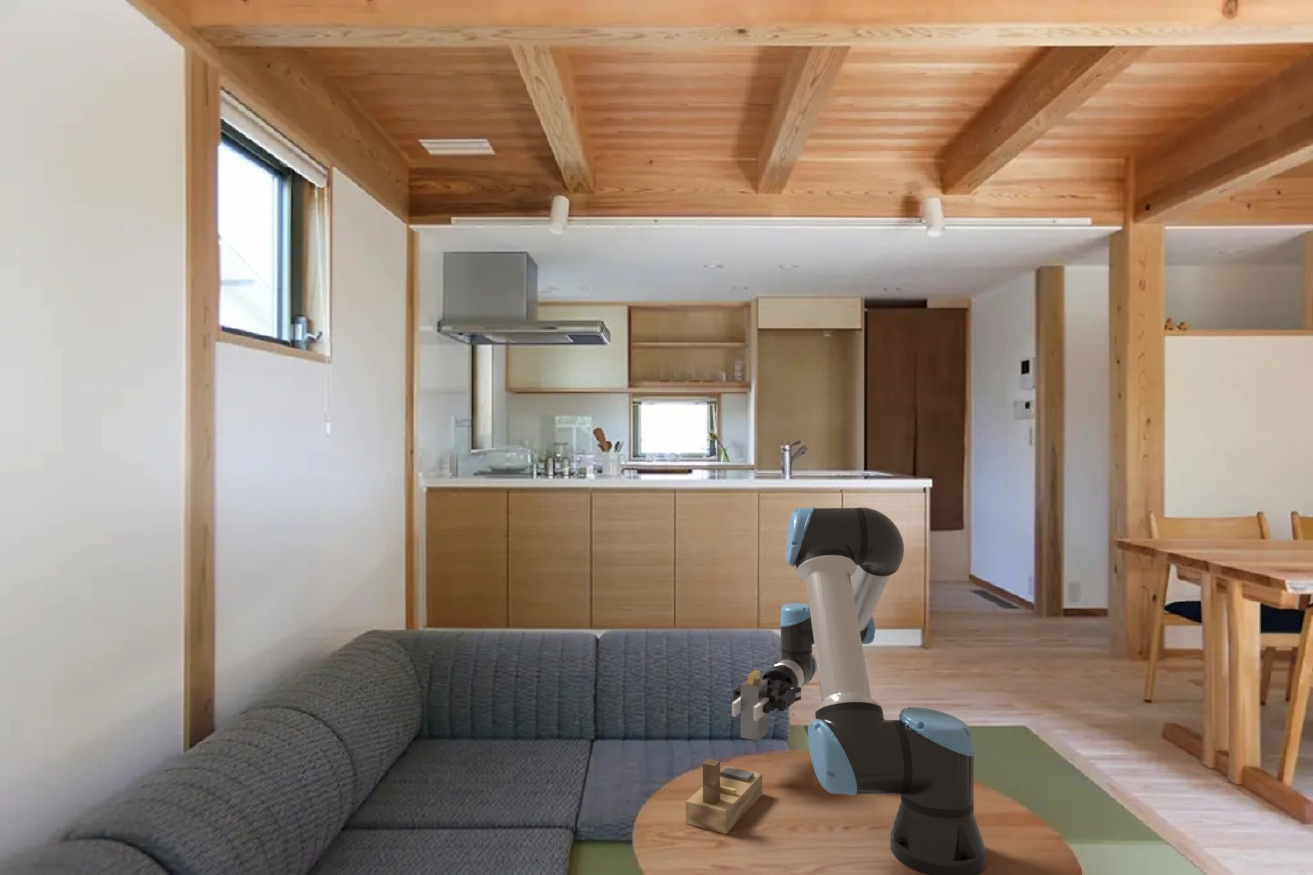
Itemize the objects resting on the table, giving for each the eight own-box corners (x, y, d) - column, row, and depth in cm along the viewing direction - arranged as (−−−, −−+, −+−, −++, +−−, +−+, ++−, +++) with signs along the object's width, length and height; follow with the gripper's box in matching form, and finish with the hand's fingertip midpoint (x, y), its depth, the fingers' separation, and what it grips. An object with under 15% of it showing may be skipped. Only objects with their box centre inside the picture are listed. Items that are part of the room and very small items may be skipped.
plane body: (762, 794, 150) (762, 738, 151) (726, 833, 135) (725, 771, 135) (725, 785, 154) (725, 731, 154) (685, 823, 138) (685, 762, 139)
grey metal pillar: (767, 732, 160) (767, 670, 160) (758, 740, 155) (758, 677, 155) (749, 729, 162) (749, 668, 162) (740, 737, 157) (740, 674, 157)
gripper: (819, 703, 170) (784, 738, 150) (748, 691, 178) (706, 722, 158) (819, 669, 170) (784, 700, 150) (748, 659, 178) (706, 686, 158)
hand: (744, 711), depth 154 cm, fingers closed on grey metal pillar, 4 cm apart
